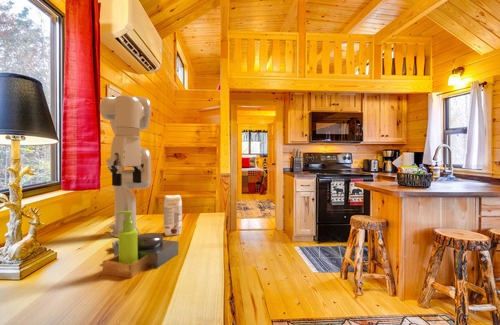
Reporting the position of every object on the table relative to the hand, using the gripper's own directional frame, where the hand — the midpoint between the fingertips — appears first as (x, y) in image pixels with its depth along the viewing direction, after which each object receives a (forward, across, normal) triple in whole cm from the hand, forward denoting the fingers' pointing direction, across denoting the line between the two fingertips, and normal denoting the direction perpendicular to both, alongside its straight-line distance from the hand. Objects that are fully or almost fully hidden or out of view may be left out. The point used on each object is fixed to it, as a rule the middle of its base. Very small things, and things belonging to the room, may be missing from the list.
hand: (127, 184), depth 91 cm
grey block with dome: (+29, -6, 0) cm, 30 cm away
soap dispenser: (+29, +1, 0) cm, 29 cm away
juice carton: (+30, -42, -8) cm, 52 cm away
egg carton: (+30, -18, -15) cm, 38 cm away
